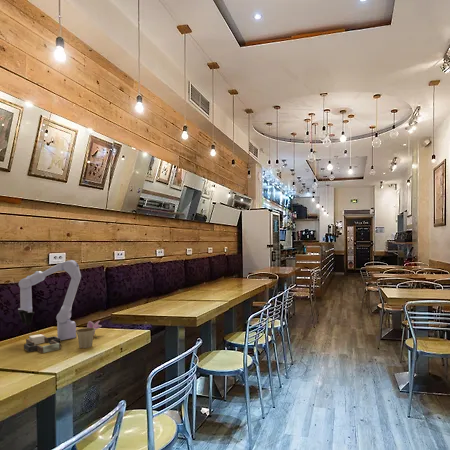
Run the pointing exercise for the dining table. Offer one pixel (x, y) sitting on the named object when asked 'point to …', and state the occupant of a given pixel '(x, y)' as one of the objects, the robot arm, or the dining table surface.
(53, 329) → the dining table surface
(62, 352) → the dining table surface
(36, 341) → the cream block
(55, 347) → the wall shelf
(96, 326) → the lily
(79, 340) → the flower pot
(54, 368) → the dining table surface
